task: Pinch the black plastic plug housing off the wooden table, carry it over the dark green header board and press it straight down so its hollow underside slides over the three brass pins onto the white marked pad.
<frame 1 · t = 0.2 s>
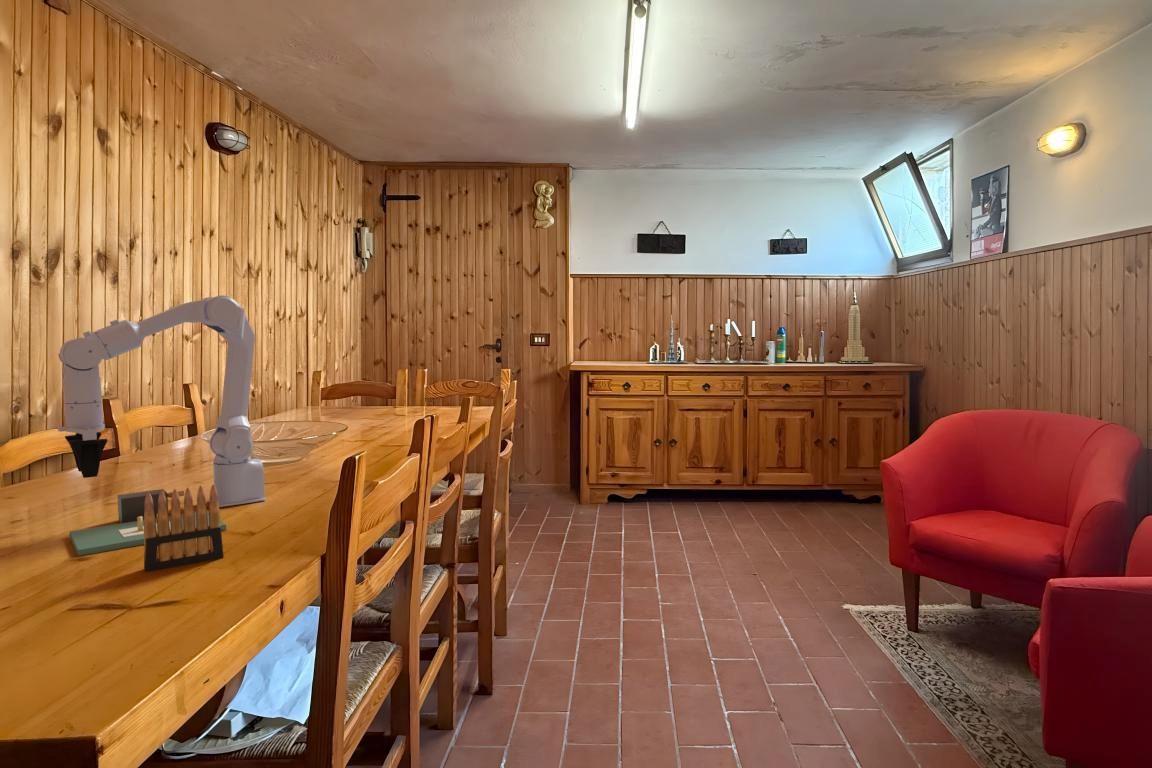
hand: (87, 473, 126), 10 cm above the table, fingers open, 7 cm apart
header board: (149, 533, 121), on the table
plug housing: (143, 519, 131), on the table
ammunition clip: (184, 564, 105), on the table
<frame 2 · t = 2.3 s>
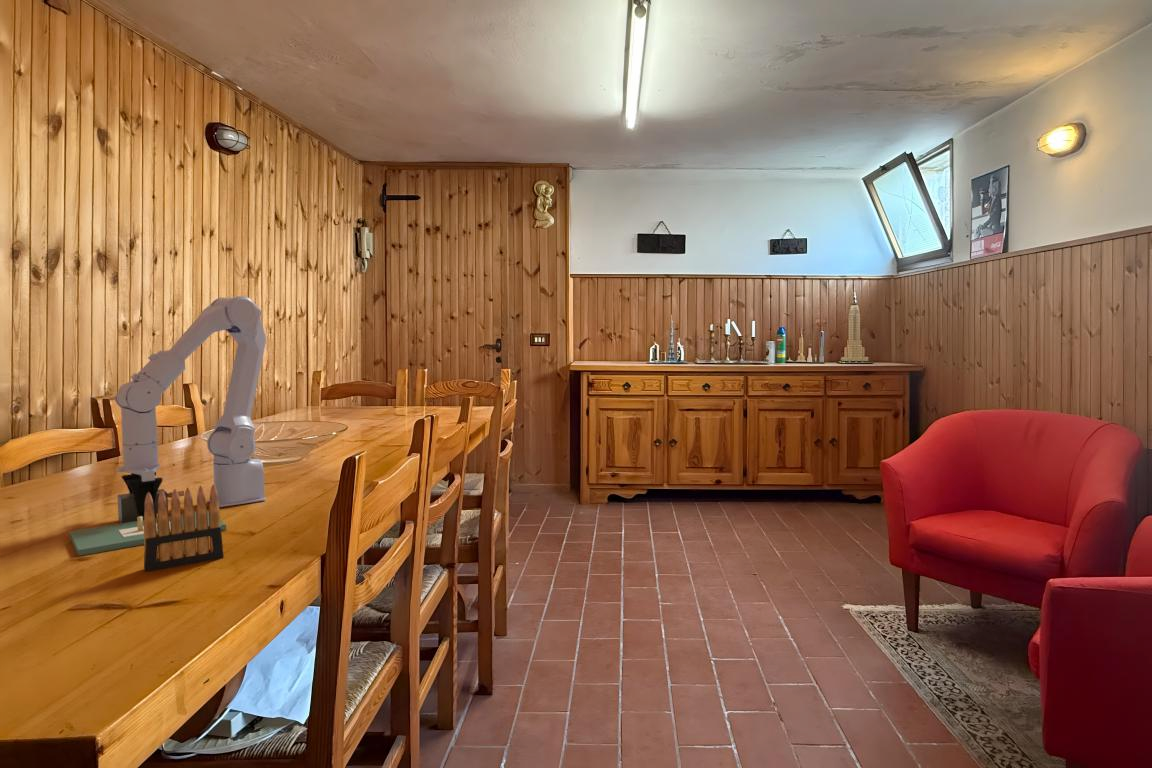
hand: (143, 511, 130), 1 cm above the table, fingers closed on plug housing, 4 cm apart
plug housing: (143, 519, 131), on the table, touching gripper
everything else where it was.
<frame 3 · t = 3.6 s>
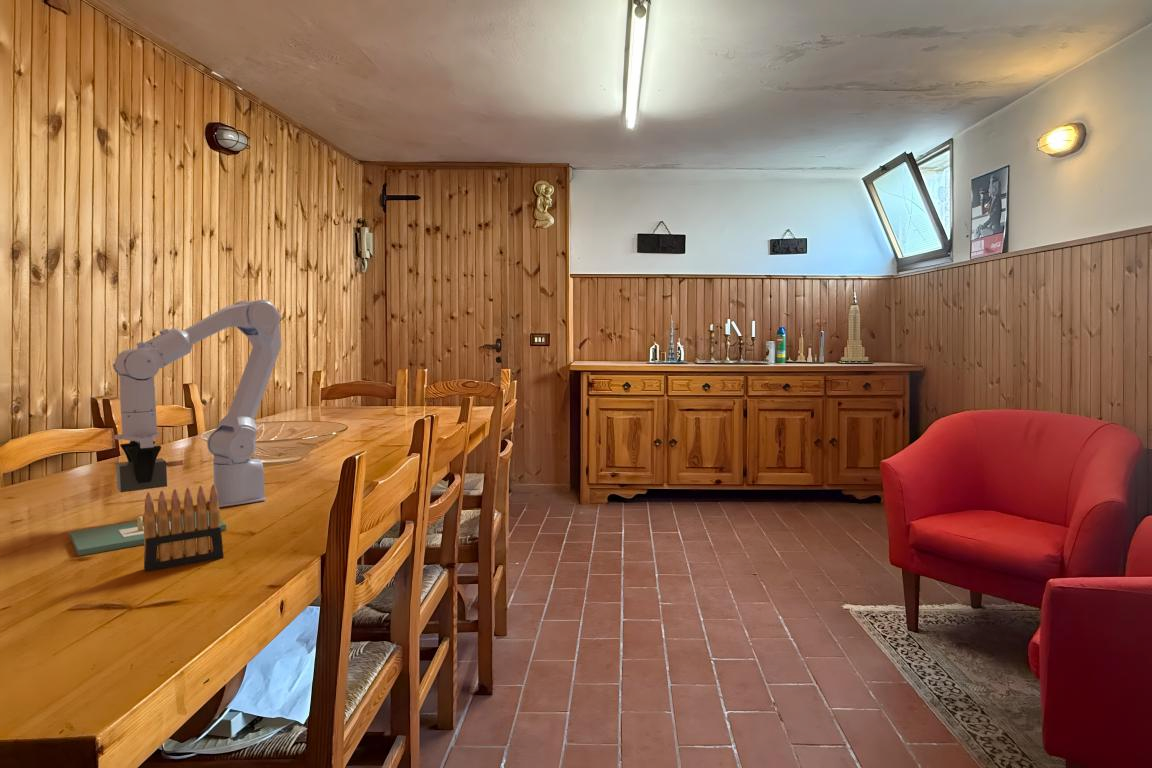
hand: (142, 480, 130), 8 cm above the table, fingers closed on plug housing, 4 cm apart
plug housing: (142, 487, 130), point 6 cm above the table, touching gripper
everything else where it was.
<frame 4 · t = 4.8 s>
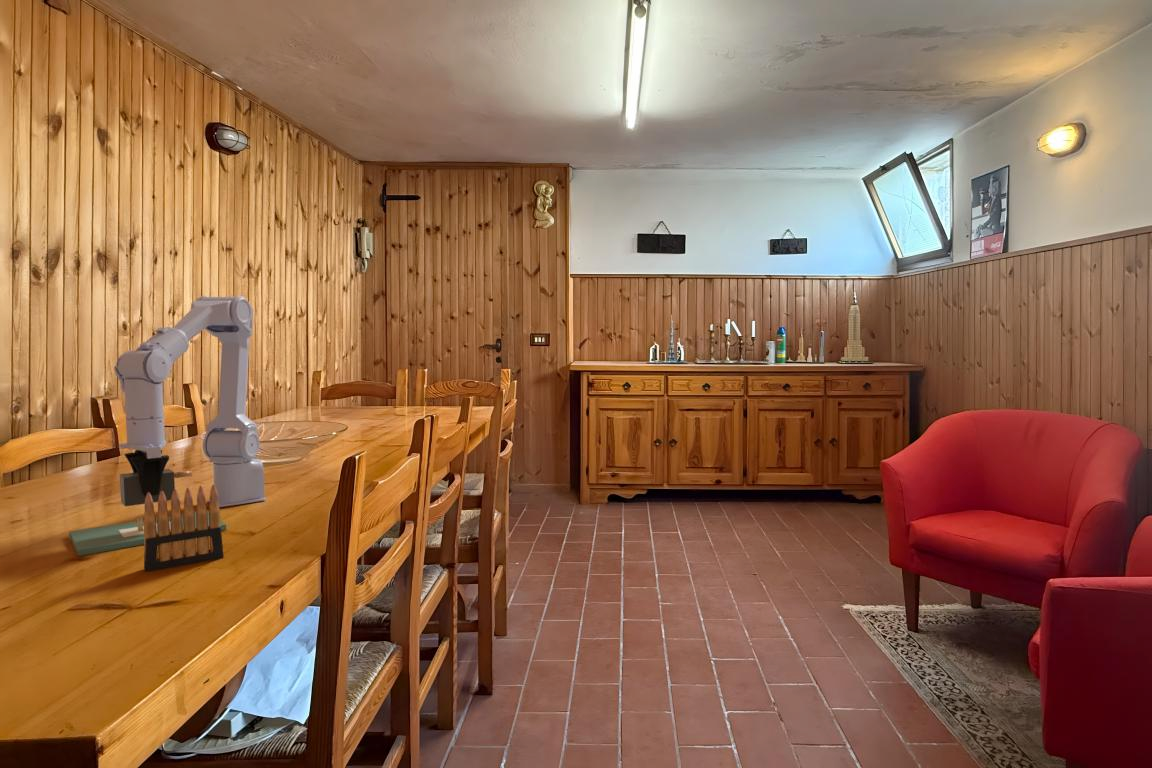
hand: (148, 492, 120), 8 cm above the table, fingers closed on plug housing, 4 cm apart
plug housing: (148, 500, 120), point 6 cm above the table, touching gripper
everything else where it was.
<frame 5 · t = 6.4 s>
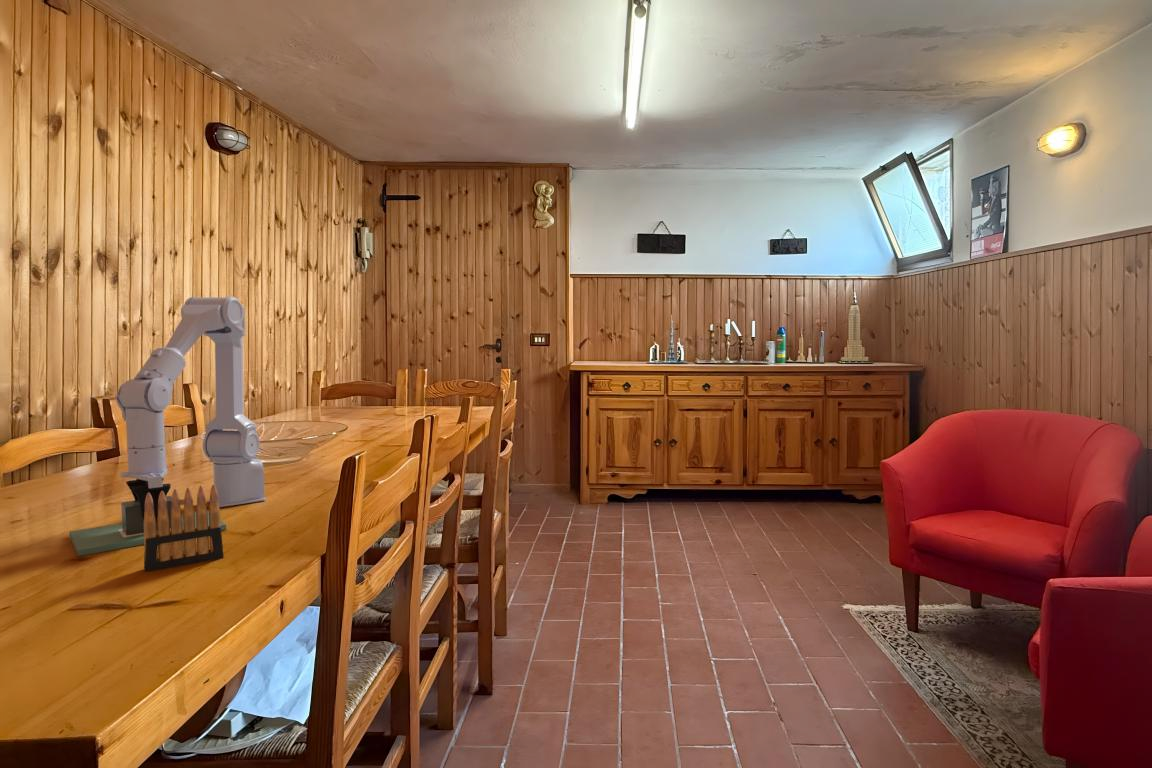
hand: (149, 520, 120), 3 cm above the table, fingers closed on plug housing, 4 cm apart
plug housing: (149, 528, 120), point 1 cm above the table, touching gripper, header board
everything else where it was.
when the fingers open (3 cm above the table, at t = 7.3 s): plug housing stays where it is, resting on header board.
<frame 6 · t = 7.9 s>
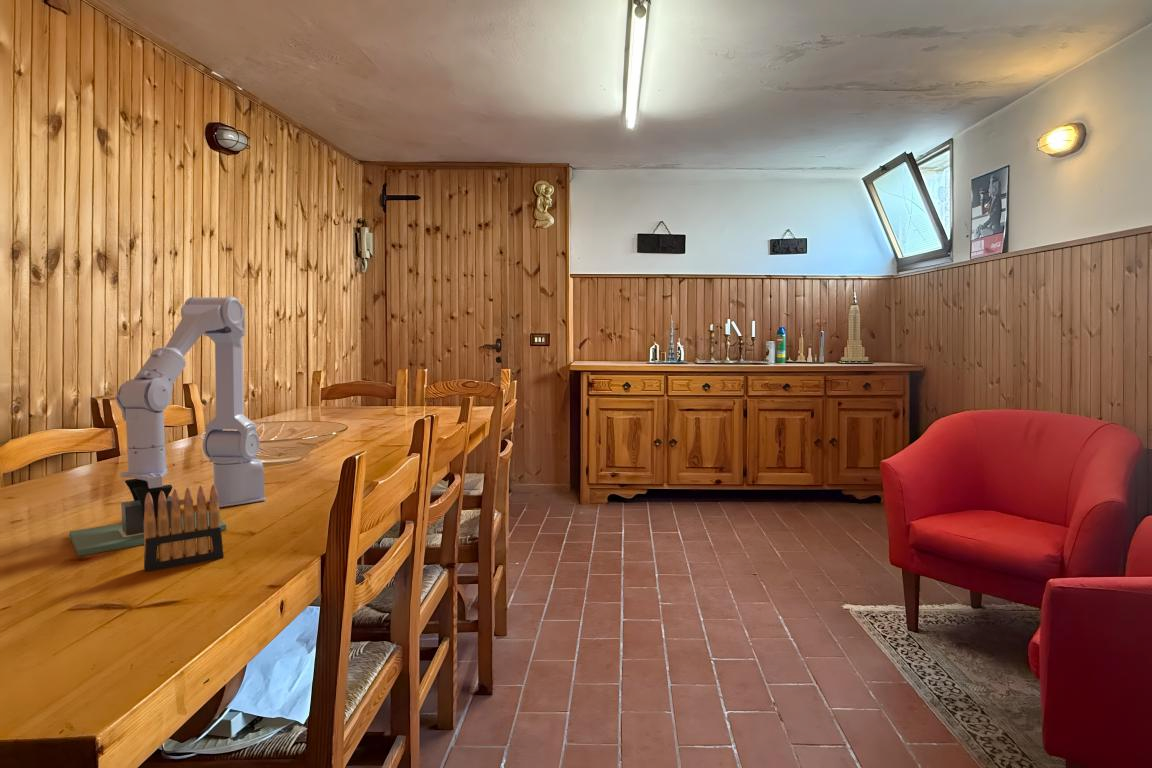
hand: (149, 520, 120), 3 cm above the table, fingers open, 7 cm apart
plug housing: (149, 528, 120), point 1 cm above the table, touching header board
everything else where it was.
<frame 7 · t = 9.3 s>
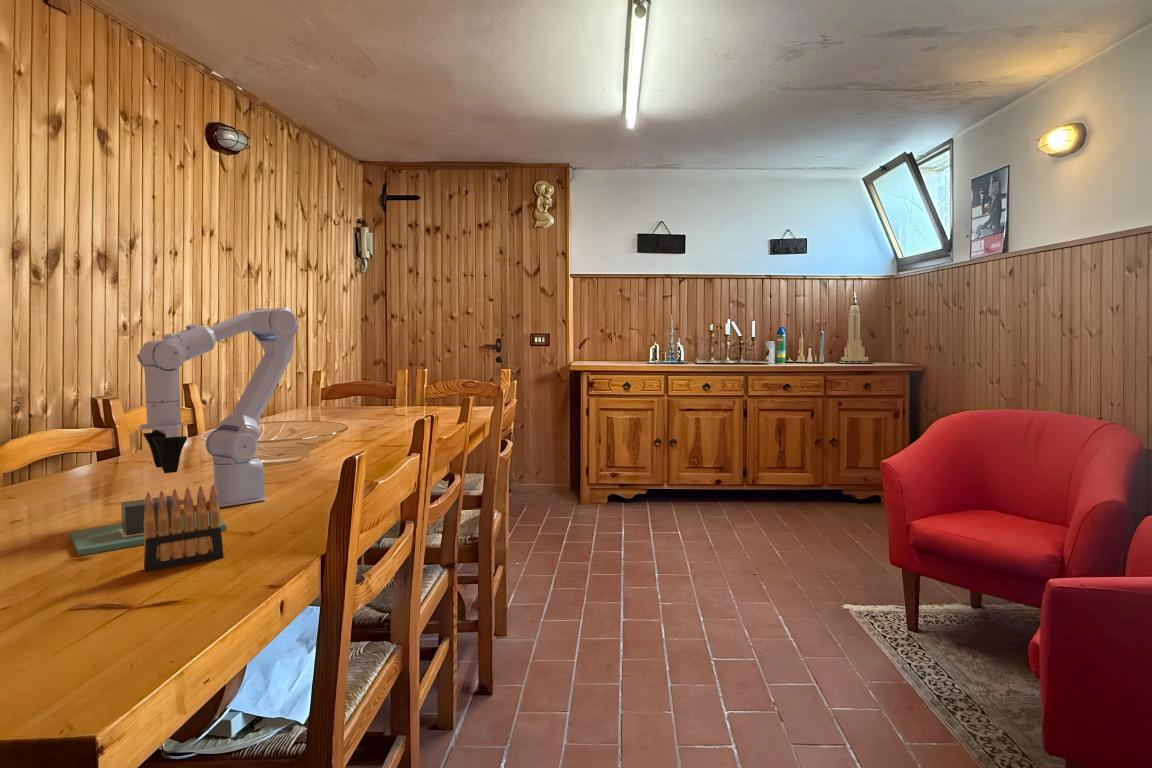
hand: (166, 469, 132), 9 cm above the table, fingers open, 7 cm apart
nothing on the table moved.
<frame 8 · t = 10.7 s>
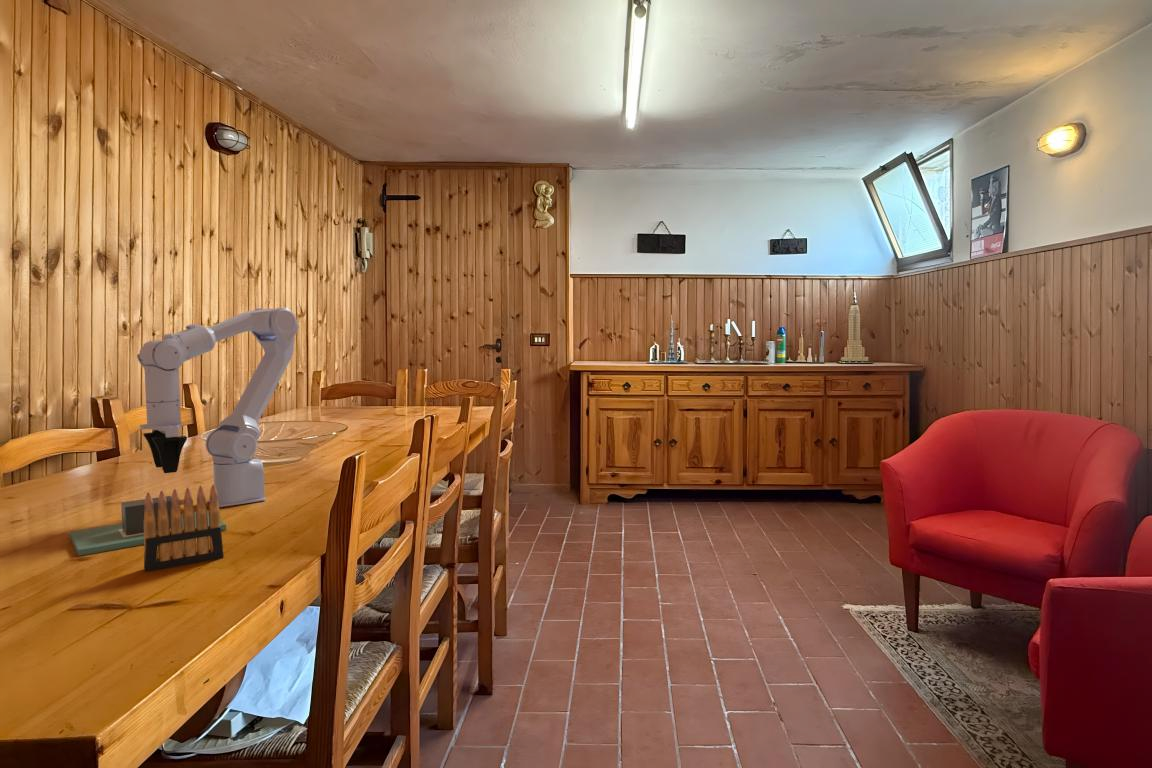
hand: (166, 469, 132), 9 cm above the table, fingers open, 7 cm apart
nothing on the table moved.
at the end: plug housing 0.1 cm from the target spot on the header board, point 1.1 cm above the header board's base; plug housing tilted 0°; the gripper is holding nothing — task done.
